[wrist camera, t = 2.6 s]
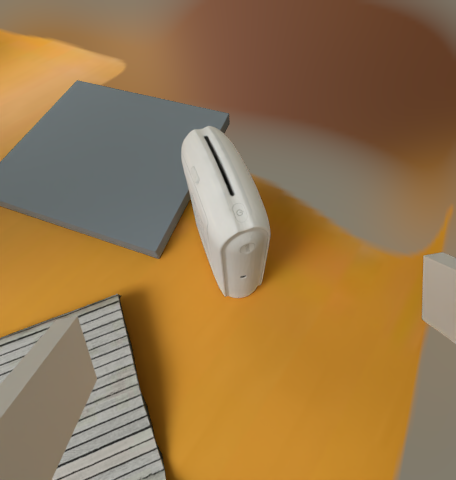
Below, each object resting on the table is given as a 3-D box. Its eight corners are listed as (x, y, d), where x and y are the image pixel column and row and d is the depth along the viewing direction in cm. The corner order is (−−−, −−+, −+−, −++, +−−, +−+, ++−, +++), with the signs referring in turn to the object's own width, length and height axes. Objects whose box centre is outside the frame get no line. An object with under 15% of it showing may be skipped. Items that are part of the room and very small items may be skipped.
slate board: (-18, 200, 35) (-28, 191, 33) (82, 90, 44) (77, 80, 42) (158, 258, 30) (155, 251, 29) (229, 123, 39) (229, 113, 38)
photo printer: (268, 290, 28) (284, 215, 18) (223, 306, 28) (212, 238, 17) (230, 204, 33) (225, 104, 22) (191, 216, 33) (167, 119, 22)
